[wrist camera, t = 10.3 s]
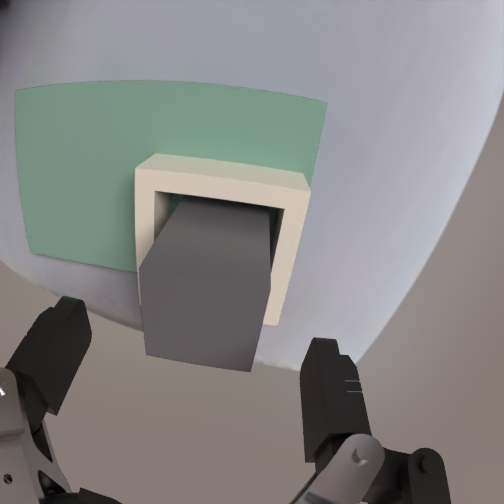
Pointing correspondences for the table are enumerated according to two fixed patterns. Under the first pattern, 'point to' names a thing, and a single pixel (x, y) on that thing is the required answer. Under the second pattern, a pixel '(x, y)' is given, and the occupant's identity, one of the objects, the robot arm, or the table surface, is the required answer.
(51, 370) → the robot arm
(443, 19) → the table surface
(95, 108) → the board
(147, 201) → the frame
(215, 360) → the plug
